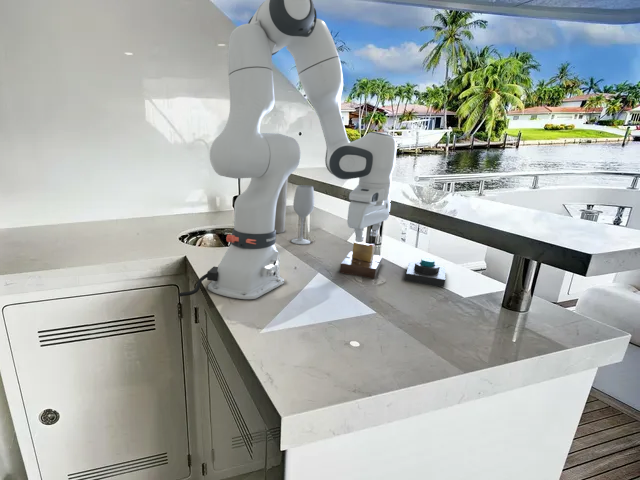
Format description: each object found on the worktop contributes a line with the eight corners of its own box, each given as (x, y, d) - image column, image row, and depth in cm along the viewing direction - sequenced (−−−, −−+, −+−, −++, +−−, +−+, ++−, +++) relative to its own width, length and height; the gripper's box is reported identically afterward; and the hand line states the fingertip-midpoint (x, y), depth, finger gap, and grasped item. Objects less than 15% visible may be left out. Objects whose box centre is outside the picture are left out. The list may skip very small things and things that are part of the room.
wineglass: (312, 244, 142) (317, 188, 135) (291, 244, 142) (295, 187, 135) (309, 239, 149) (313, 185, 142) (289, 238, 149) (293, 184, 142)
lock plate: (374, 278, 110) (376, 268, 108) (339, 272, 114) (340, 262, 113) (381, 265, 121) (382, 255, 120) (349, 259, 126) (350, 250, 125)
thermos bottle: (261, 230, 160) (264, 162, 151) (272, 227, 166) (276, 161, 157) (277, 234, 156) (281, 163, 146) (288, 230, 161) (292, 162, 152)
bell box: (443, 287, 105) (446, 273, 103) (405, 280, 109) (407, 267, 107) (443, 273, 115) (446, 261, 113) (408, 268, 119) (410, 256, 118)
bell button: (433, 268, 108) (435, 262, 108) (420, 266, 110) (421, 260, 109) (434, 264, 111) (435, 259, 111) (420, 262, 113) (421, 257, 112)
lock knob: (351, 257, 118) (353, 241, 116) (354, 256, 119) (356, 240, 117) (370, 262, 114) (372, 245, 112) (373, 260, 115) (375, 244, 114)
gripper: (378, 187, 118) (372, 230, 123) (346, 194, 104) (340, 242, 108) (398, 190, 114) (391, 234, 119) (367, 197, 100) (360, 247, 104)
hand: (366, 238), depth 113 cm, fingers open, 8 cm apart
